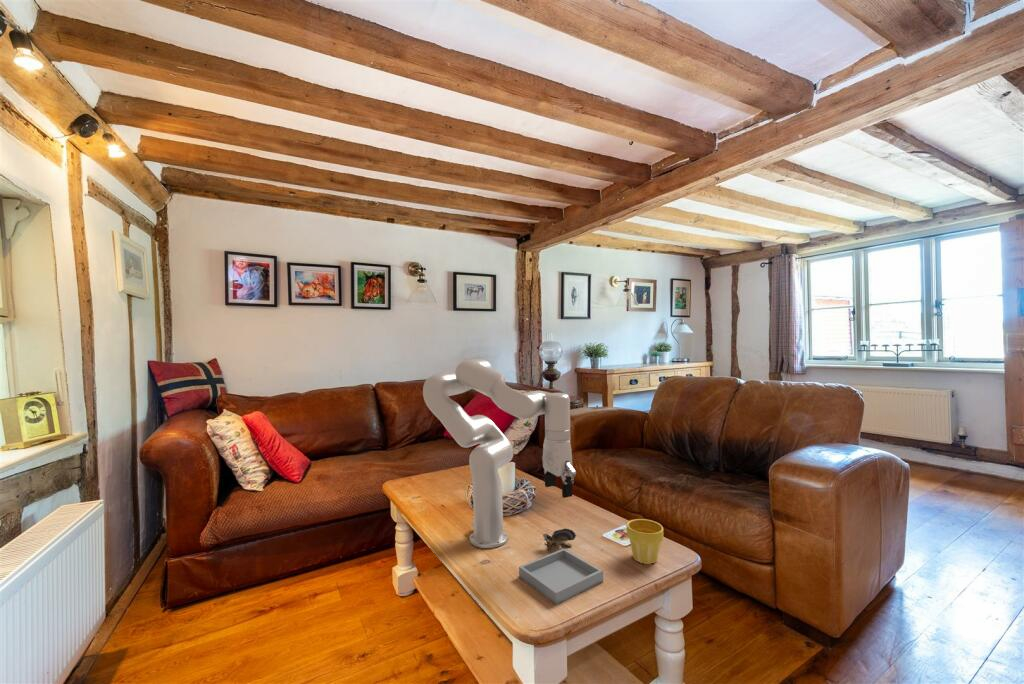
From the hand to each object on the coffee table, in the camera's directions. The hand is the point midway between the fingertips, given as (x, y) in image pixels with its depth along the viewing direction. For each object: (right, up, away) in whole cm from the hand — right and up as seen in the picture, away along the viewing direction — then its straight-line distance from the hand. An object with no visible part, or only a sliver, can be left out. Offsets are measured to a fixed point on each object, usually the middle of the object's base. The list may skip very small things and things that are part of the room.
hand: (558, 491), depth 131 cm
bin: (-1, -20, -12) cm, 23 cm away
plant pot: (+25, -19, -2) cm, 32 cm away
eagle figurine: (+1, -20, +5) cm, 21 cm away
